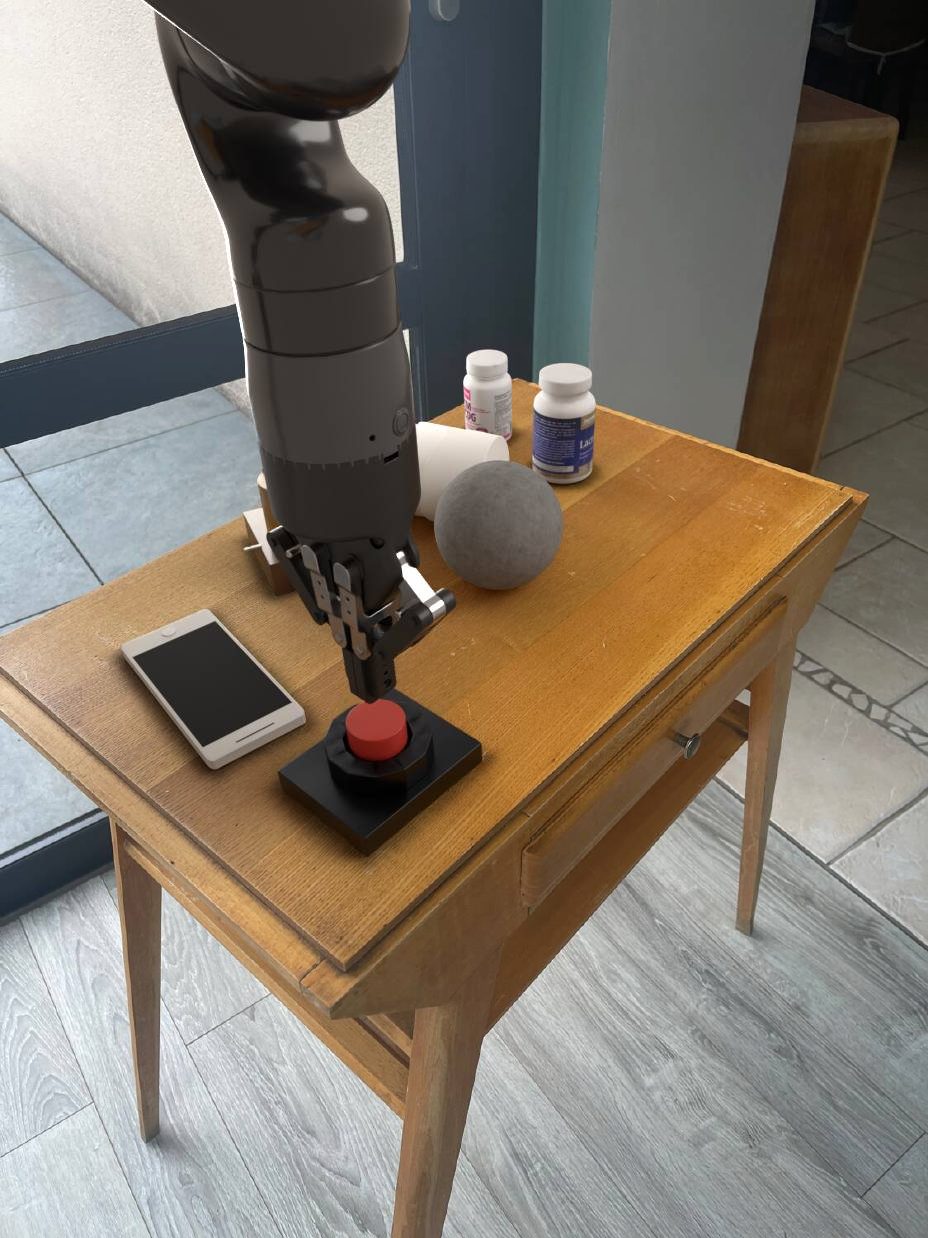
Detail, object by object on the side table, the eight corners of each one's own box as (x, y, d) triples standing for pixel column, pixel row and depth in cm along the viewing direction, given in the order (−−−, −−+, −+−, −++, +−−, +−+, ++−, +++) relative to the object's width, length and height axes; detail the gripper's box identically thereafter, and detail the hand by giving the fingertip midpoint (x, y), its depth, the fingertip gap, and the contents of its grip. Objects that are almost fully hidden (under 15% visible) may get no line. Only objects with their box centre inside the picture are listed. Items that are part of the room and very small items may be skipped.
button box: (367, 857, 54) (361, 818, 52) (281, 789, 59) (272, 750, 56) (482, 761, 60) (481, 722, 58) (396, 705, 64) (391, 667, 62)
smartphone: (209, 615, 73) (206, 606, 72) (308, 722, 63) (306, 711, 62) (121, 654, 70) (117, 644, 69) (212, 772, 60) (209, 762, 59)
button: (376, 770, 55) (373, 750, 54) (336, 742, 57) (333, 721, 56) (419, 737, 57) (417, 716, 56) (379, 711, 59) (376, 690, 58)
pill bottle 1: (455, 437, 95) (452, 358, 90) (486, 421, 98) (484, 343, 93) (490, 451, 93) (489, 370, 88) (521, 434, 95) (521, 354, 90)
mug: (476, 550, 79) (473, 466, 74) (376, 532, 82) (367, 450, 77) (521, 483, 88) (521, 403, 83) (429, 468, 91) (424, 391, 86)
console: (264, 609, 74) (257, 576, 72) (234, 545, 81) (227, 514, 79) (398, 571, 77) (394, 539, 75) (357, 513, 84) (353, 482, 83)
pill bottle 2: (591, 487, 86) (597, 385, 80) (530, 485, 87) (530, 384, 81) (592, 457, 91) (597, 359, 85) (534, 456, 92) (535, 358, 86)
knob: (334, 530, 77) (324, 467, 73) (299, 557, 74) (288, 493, 70) (292, 517, 79) (281, 455, 75) (257, 542, 76) (244, 479, 72)
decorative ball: (563, 615, 71) (567, 502, 65) (433, 615, 72) (425, 503, 66) (559, 543, 79) (562, 436, 73) (442, 544, 80) (435, 438, 74)
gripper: (188, 410, 46) (253, 676, 56) (371, 496, 38) (406, 784, 49) (307, 361, 50) (346, 618, 60) (493, 430, 42) (500, 708, 53)
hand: (373, 692), depth 55 cm, fingers closed
